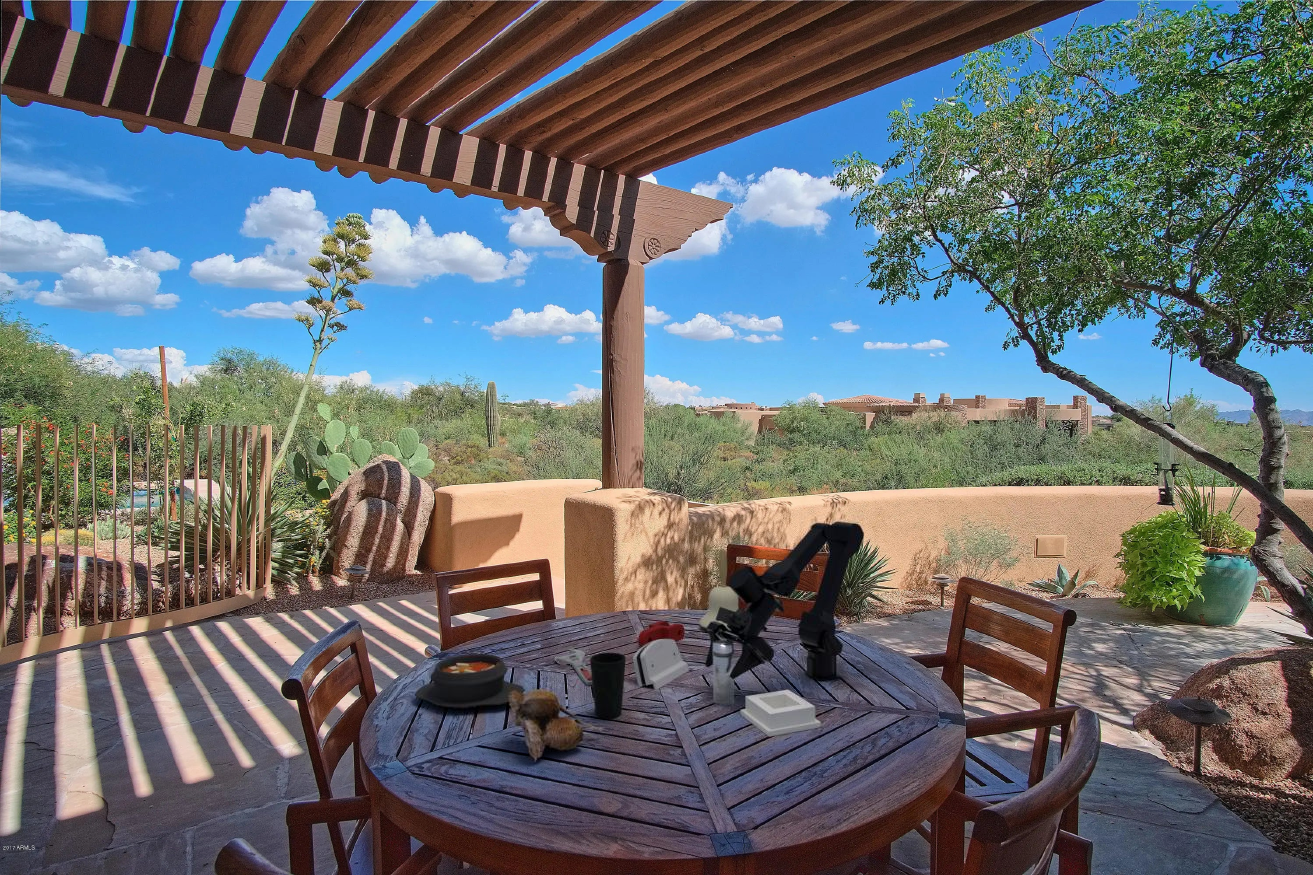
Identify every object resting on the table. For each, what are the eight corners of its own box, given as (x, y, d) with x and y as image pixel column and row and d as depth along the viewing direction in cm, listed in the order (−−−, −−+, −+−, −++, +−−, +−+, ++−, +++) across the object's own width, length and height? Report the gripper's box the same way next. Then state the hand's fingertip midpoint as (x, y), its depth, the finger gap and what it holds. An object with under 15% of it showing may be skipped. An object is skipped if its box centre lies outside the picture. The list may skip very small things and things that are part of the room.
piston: (728, 696, 156) (728, 639, 157) (738, 703, 152) (738, 644, 152) (709, 699, 155) (708, 641, 155) (718, 706, 150) (718, 647, 150)
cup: (631, 709, 149) (631, 654, 149) (618, 722, 142) (617, 664, 142) (599, 705, 152) (598, 650, 152) (584, 718, 145) (584, 661, 145)
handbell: (734, 637, 204) (733, 553, 204) (690, 630, 212) (689, 550, 212) (756, 626, 217) (755, 547, 217) (714, 619, 225) (713, 543, 225)
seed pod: (528, 690, 143) (488, 691, 130) (598, 680, 138) (564, 679, 125) (531, 759, 138) (490, 767, 125) (604, 751, 134) (569, 758, 120)
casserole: (537, 689, 162) (537, 654, 162) (501, 720, 144) (501, 680, 144) (442, 682, 168) (442, 647, 168) (396, 710, 150) (396, 672, 150)
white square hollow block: (789, 706, 150) (789, 687, 150) (820, 727, 139) (820, 707, 139) (740, 714, 146) (740, 695, 146) (768, 736, 135) (768, 716, 135)
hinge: (655, 690, 161) (643, 647, 163) (639, 693, 163) (627, 651, 165) (690, 669, 175) (678, 631, 177) (675, 673, 177) (663, 635, 179)
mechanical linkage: (665, 635, 208) (665, 619, 208) (684, 639, 203) (684, 622, 204) (631, 648, 195) (631, 630, 195) (651, 652, 191) (651, 634, 191)
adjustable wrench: (564, 691, 162) (564, 682, 162) (552, 657, 188) (552, 649, 188) (598, 688, 165) (598, 679, 165) (582, 655, 190) (582, 647, 190)
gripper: (712, 586, 164) (674, 640, 158) (763, 601, 148) (722, 661, 142) (738, 615, 168) (702, 668, 162) (791, 632, 152) (753, 692, 146)
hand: (718, 671), depth 153 cm, fingers open, 9 cm apart
